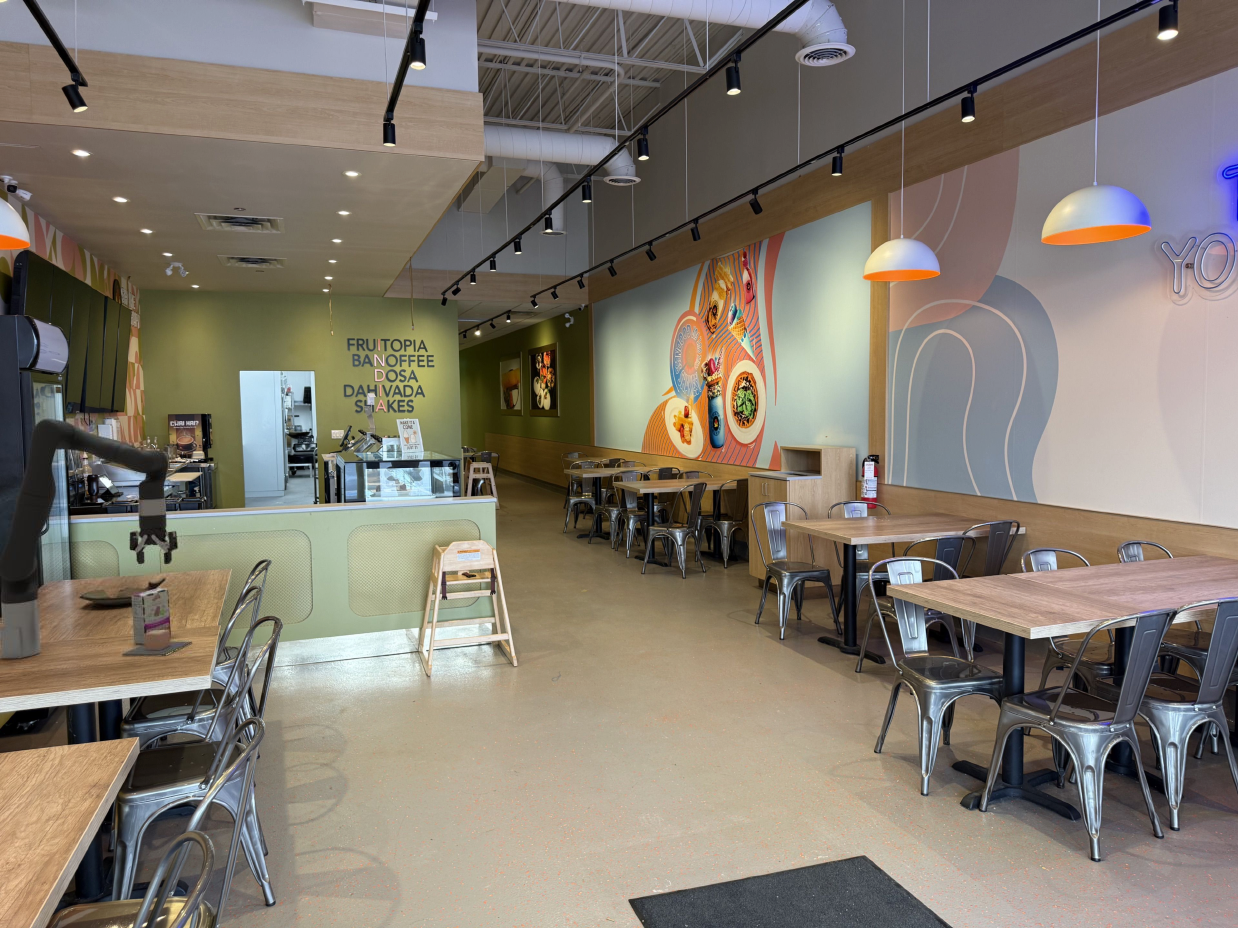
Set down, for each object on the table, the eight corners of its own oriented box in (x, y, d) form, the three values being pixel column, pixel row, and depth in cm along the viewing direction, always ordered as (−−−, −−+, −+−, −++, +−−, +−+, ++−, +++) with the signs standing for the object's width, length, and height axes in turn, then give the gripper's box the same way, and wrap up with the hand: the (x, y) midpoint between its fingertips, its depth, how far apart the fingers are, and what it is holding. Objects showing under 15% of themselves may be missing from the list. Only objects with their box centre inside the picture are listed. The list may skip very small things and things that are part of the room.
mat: (165, 656, 246) (165, 654, 246) (122, 655, 246) (122, 653, 246) (192, 643, 260) (191, 641, 260) (150, 643, 260) (150, 641, 260)
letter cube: (160, 649, 250) (159, 633, 250) (145, 649, 251) (144, 633, 250) (170, 645, 255) (169, 629, 255) (155, 645, 256) (154, 629, 255)
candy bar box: (158, 635, 270) (156, 587, 269) (171, 635, 269) (169, 588, 268) (132, 644, 259) (130, 594, 258) (145, 644, 258) (143, 595, 257)
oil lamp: (80, 602, 320) (79, 584, 320) (165, 593, 337) (165, 575, 336) (78, 614, 302) (77, 594, 301) (169, 603, 318) (168, 584, 317)
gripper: (122, 514, 247) (124, 565, 248) (167, 514, 246) (169, 565, 247) (138, 511, 254) (140, 561, 255) (181, 511, 254) (183, 561, 255)
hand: (154, 563), depth 251 cm, fingers open, 8 cm apart
